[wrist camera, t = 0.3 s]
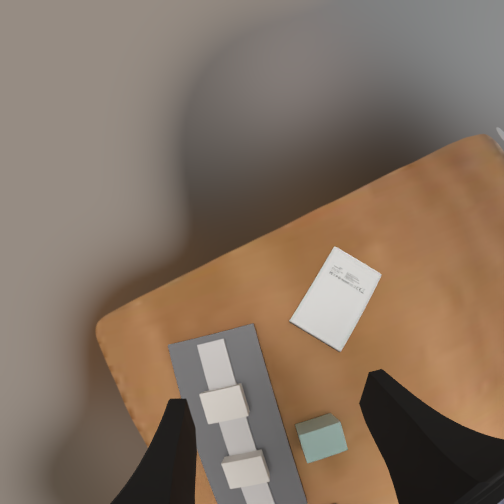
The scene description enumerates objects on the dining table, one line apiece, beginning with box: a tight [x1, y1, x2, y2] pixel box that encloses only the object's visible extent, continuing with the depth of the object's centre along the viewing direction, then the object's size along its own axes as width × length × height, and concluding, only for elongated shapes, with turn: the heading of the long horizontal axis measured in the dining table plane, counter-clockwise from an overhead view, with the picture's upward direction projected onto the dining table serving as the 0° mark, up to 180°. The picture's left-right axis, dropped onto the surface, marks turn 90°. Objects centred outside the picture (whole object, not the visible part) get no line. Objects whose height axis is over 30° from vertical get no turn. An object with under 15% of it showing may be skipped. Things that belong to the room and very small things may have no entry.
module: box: [295, 413, 348, 463], centre depth 31 cm, size 4×5×6 cm
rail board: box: [168, 324, 307, 504], centre depth 33 cm, size 28×12×5 cm, turn 16°
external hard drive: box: [289, 246, 381, 352], centre depth 40 cm, size 2×8×12 cm
